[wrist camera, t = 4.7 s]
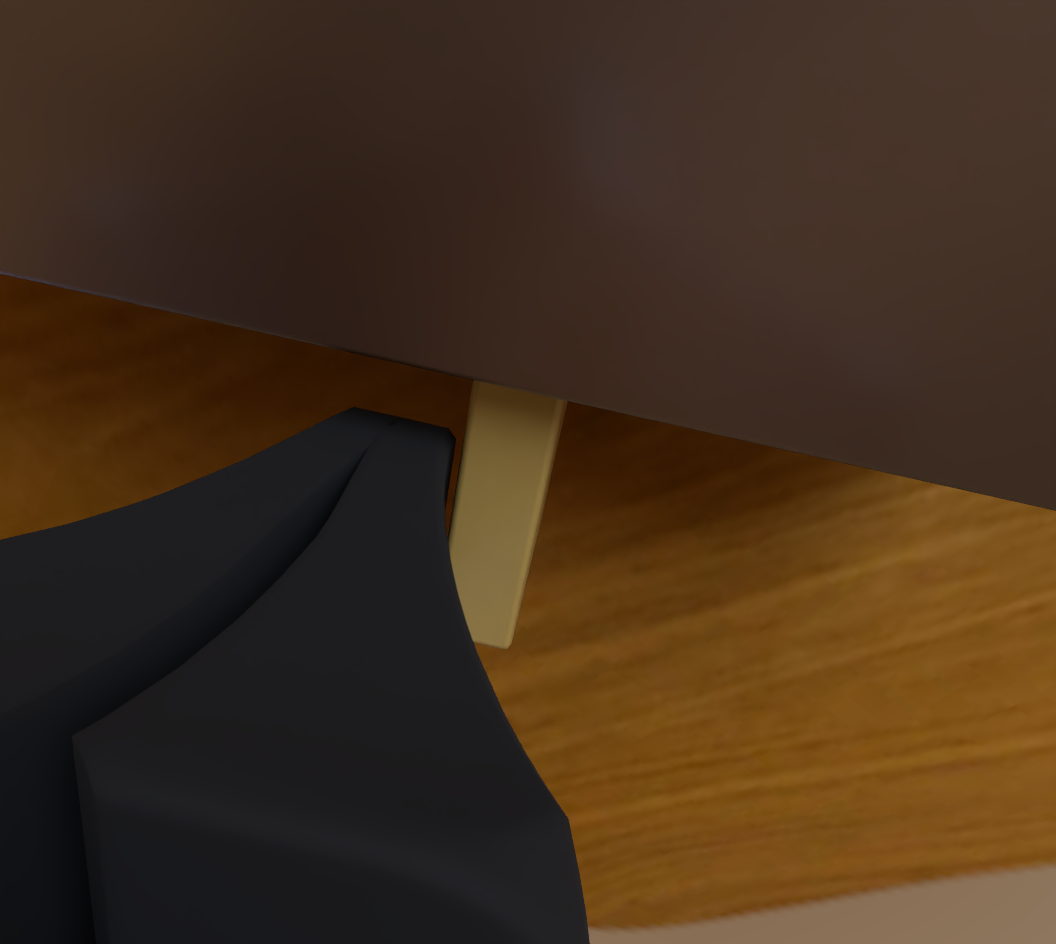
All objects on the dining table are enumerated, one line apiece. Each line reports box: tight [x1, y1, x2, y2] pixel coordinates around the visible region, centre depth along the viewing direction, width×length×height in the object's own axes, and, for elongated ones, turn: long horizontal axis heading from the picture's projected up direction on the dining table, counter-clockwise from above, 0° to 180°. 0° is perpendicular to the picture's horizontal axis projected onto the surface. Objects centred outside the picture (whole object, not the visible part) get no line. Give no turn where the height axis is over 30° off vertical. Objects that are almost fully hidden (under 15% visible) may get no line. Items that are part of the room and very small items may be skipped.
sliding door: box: [448, 380, 568, 649], centre depth 12 cm, size 7×5×4 cm
